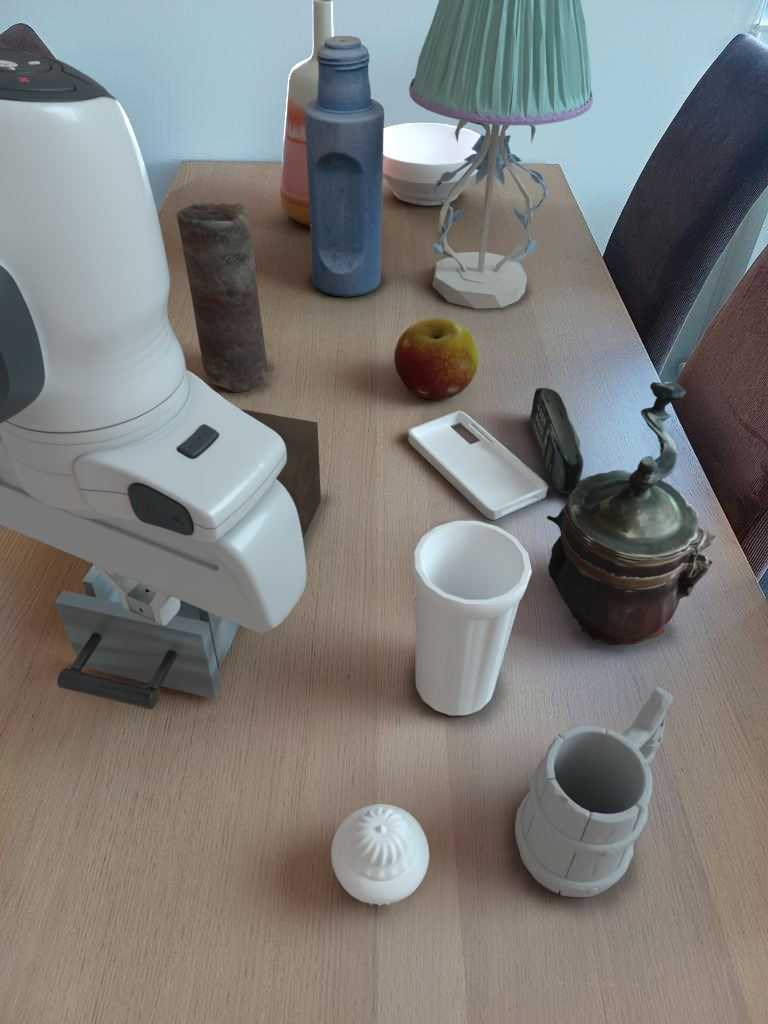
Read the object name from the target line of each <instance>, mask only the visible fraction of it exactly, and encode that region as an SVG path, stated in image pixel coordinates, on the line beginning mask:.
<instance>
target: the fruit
mask: <svg viewBox="0 0 768 1024" xmlns="http://www.w3.org/2000/svg"><path fill="white" fill-rule="evenodd" d="M393 362H394V367H395V371H396V374H397V376H398V378H399V380H400V381H401V383H402V384H403V385H404V387H405V388H406V389H407V390H408V391H409V392H410V393H412V394H413V395H416V396H418V397H420V398H423V399H428V400H437V401H439V400H445V399H449V398H451V397H454V396H456V395H459V394H461V393H462V392H463V391H464V390H465V389H466V388H468V387H469V385H470V383H471V382H472V381H473V380H474V378H475V376H476V372H477V370H478V367H479V366H478V365H479V351H478V347H477V344H476V342H475V339H474V337H473V335H472V334H471V333H470V332H469V331H468V329H467V328H465V326H463V325H462V324H460V323H458V322H457V321H454V320H451V319H446V318H428V319H424V320H423V319H422V320H420V321H417V322H415V323H413V324H411V325H409V327H408V328H406V329H405V330H404V331H403V332H402V333H401V335H400V337H399V338H398V340H397V343H396V345H395V349H394V361H393Z"/></svg>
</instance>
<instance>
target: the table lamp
mask: <svg viewBox="0 0 768 1024" xmlns="http://www.w3.org/2000/svg"><path fill="white" fill-rule="evenodd" d="M588 47H589V46H588V38H587V30H586V20H585V16H584V12H583V6H582V0H438V3H437V5H436V8H435V12H434V14H433V18H432V20H431V24H430V26H429V29H428V32H427V34H426V37H425V39H424V42H423V45H422V48H421V50H420V53H419V56H418V58H417V65H416V69H415V70H416V71H415V75H414V77H413V78H412V79H411V82H410V84H409V86H408V93H409V97H410V98H411V100H412V102H414V103H415V104H416V105H418V106H419V107H421V108H423V109H425V110H426V111H429V112H431V113H434V114H437V115H439V116H443V117H446V118H450V119H454V120H458V123H457V128H456V131H455V136H456V140H457V142H458V137H459V132H460V129H461V128H464V127H465V126H466V125H467V124H468V123H471V124H475V125H478V126H481V127H483V129H484V130H485V134H480V135H481V136H480V138H479V139H478V141H477V142H476V143H475V145H474V146H473V147H472V150H474V151H476V154H472V155H470V156H469V157H467V158H466V159H464V160H465V161H467V162H466V163H465V164H464V165H462V166H461V167H460V168H458V169H457V170H455V171H453V172H452V173H451V172H445V173H443V174H442V176H441V178H440V180H438V181H437V182H436V185H435V188H434V192H435V194H436V196H437V199H438V201H439V202H440V203H441V205H442V207H441V210H440V213H439V220H438V228H437V231H438V232H437V233H438V237H439V240H438V242H437V244H435V243H433V245H432V246H433V247H432V248H433V249H432V250H433V252H434V253H435V254H438V255H442V256H444V257H445V258H443V259H440V260H438V261H436V264H435V269H434V274H433V278H432V279H433V280H432V284H431V285H432V288H433V289H434V290H436V291H437V292H438V293H439V294H440V295H441V296H442V297H443V298H444V300H446V301H447V303H450V304H455V305H458V306H463V307H467V308H471V309H475V310H480V309H481V310H482V309H483V310H484V309H502V308H505V307H506V306H507V307H508V306H509V305H511V304H515V303H517V302H518V301H519V300H520V299H521V298H522V296H523V295H524V294H525V292H526V288H527V287H526V286H527V281H528V276H527V274H526V272H525V270H524V268H523V267H522V264H521V263H520V261H521V260H522V259H524V258H525V257H526V256H527V255H529V254H531V253H534V251H535V250H536V246H537V242H538V238H537V239H535V240H532V238H531V236H530V235H531V232H532V229H533V223H534V222H533V212H534V211H536V210H538V209H539V208H540V207H541V206H542V204H543V203H544V202H545V201H546V199H547V198H548V188H547V185H546V184H545V181H544V177H543V175H542V174H541V172H539V171H537V170H534V169H529V168H527V167H525V166H524V165H522V164H521V163H520V162H522V159H521V158H520V157H519V156H517V155H516V154H513V153H511V150H510V144H509V143H510V140H511V134H509V135H506V131H507V130H508V129H509V127H510V126H529V127H530V144H532V143H533V140H534V137H535V135H536V132H537V131H536V130H537V129H536V126H541V125H542V126H543V125H548V124H555V123H561V122H565V121H570V120H572V119H576V118H578V117H581V116H582V115H584V114H585V113H587V112H588V111H589V110H590V109H591V108H592V104H593V101H594V97H593V91H592V69H591V62H590V55H589V48H588ZM490 125H491V126H490ZM500 128H501V130H500ZM472 163H473V164H472ZM470 164H472V165H471V166H470V167H469V169H468V170H467V171H466V172H465V173H464V175H463V176H462V177H461V178H460V179H459V181H458V182H457V183H456V184H455V185H454V187H453V188H452V189H451V191H450V193H449V195H448V197H447V199H446V201H445V203H444V202H443V201H442V200H441V198H440V195H439V193H438V190H437V188H438V187H439V186H440V184H441V183H442V182H447V181H449V180H451V179H452V178H453V177H454V176H455V175H456V173H457V172H459V171H460V170H462V169H464V168H465V167H467V166H468V165H470ZM512 164H514V165H516V166H517V167H519V168H520V169H522V170H524V171H526V172H528V173H529V174H530V177H531V178H532V180H533V181H534V182H535V183H536V184H540V187H541V188H542V190H543V194H542V196H543V197H542V198H541V200H540V201H539V203H538V204H536V205H535V206H533V202H532V201H533V199H532V198H531V196H530V194H529V192H528V191H527V189H526V187H525V185H524V183H523V182H522V179H520V177H519V175H518V174H517V171H516V170H515V168H514V167H513V165H512ZM505 167H506V168H507V170H508V172H509V173H510V175H511V177H512V179H513V180H514V182H515V184H516V185H517V188H518V189H519V191H520V193H521V194H522V196H523V198H524V201H525V207H526V210H525V212H524V214H522V213H521V212H520V211H519V210H518V209H517V208H516V207H513V212H514V214H515V216H516V218H517V219H518V221H519V222H520V224H521V225H523V228H524V232H523V234H522V237H521V239H520V241H519V243H518V245H517V246H515V248H513V249H512V250H511V251H510V252H509V253H507V254H506V255H505V256H504V255H501V254H496V253H492V252H489V251H487V243H488V235H489V224H490V216H491V207H492V199H493V189H494V182H495V178H496V180H498V182H499V183H501V185H503V186H505V178H506V177H505V176H506V175H505V173H504V169H505ZM475 169H477V170H478V172H477V173H476V175H475V185H478V184H479V183H480V182H482V180H483V179H484V178H485V177H486V179H485V190H484V191H485V192H484V201H483V210H482V219H481V220H482V221H481V229H480V230H481V231H480V240H479V249H478V251H471V252H470V251H469V252H466V251H465V252H455V251H454V250H453V249H452V248H451V247H450V246H449V245H448V241H447V237H446V235H447V233H448V231H449V230H450V227H451V225H452V224H453V223H456V222H458V221H459V220H460V218H461V217H462V214H463V211H464V206H463V207H461V208H460V209H457V210H455V212H454V208H453V207H452V206H450V204H451V202H452V201H451V199H452V197H453V196H454V195H455V193H456V192H457V191H458V190H459V188H460V187H461V186H462V185H463V184H464V182H465V181H466V180H467V179H468V178H469V176H470V175H471V174H472V173H473V172H474V170H475ZM448 210H449V212H450V214H449V217H448V218H447V219H448V220H447V222H446V224H445V226H444V220H445V218H446V216H447V213H448ZM525 246H526V247H525ZM524 247H525V250H524V253H522V254H519V255H518V256H517V257H514V256H515V255H516V254H517V253H518V252H520V251H521V250H522V249H523V248H524ZM443 249H444V250H445V251H443ZM512 257H514V258H513V259H512Z"/></svg>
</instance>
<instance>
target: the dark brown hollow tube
mask: <svg viewBox="0 0 768 1024" xmlns="http://www.w3.org/2000/svg"><path fill="white" fill-rule="evenodd" d="M249 217H250V216H249V210H248V209H247V208H246V206H244V205H243V204H242V203H240V202H239V203H238V202H237V203H234V204H233V203H218V204H217V203H207V202H196V203H195V202H194V203H193V204H190V205H188V206H185V207H184V208H182V209H180V210H179V211H178V212H177V213H176V219H177V224H178V230H179V234H180V241H181V246H182V252H183V257H184V263H185V267H186V273H187V279H188V286H189V291H190V296H191V302H192V309H193V314H194V321H195V327H196V333H197V340H198V344H199V350H200V356H201V359H202V360H201V362H202V366H203V371H204V374H205V376H206V377H207V379H209V381H210V382H211V383H212V384H213V385H215V386H219V387H221V388H224V389H226V390H228V391H230V392H233V393H242V392H245V391H249V390H250V389H252V388H254V387H256V386H258V385H260V384H262V383H263V381H264V380H265V376H266V375H267V372H268V369H269V367H268V360H267V351H266V343H265V337H264V329H263V322H262V314H261V306H260V298H259V290H258V283H257V274H256V266H255V264H256V263H255V259H254V257H255V256H254V250H253V249H254V248H253V242H252V234H251V233H252V232H251V227H250V218H249Z"/></svg>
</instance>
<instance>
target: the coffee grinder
mask: <svg viewBox="0 0 768 1024" xmlns="http://www.w3.org/2000/svg"><path fill="white" fill-rule="evenodd" d="M649 386H650V388H649V389H650V390H651V392H652V394H653V396H654V397H655V400H654V403H653V406H651V407H646V408H643V409H641V410H640V415H641V417H642V418H643V420H644V421H645V423H646V425H647V427H648V428H649V429H650V430H651V431H652V432H653V433H654V434H655V435H656V438H657V440H658V443H659V448H660V449H659V453H660V454H659V456H658V457H657V458H655V459H654V457H653V456H652V455H647V456H645V457H643V458H642V459H640V461H639V463H638V465H637V468H636V470H634V471H632V472H630V471H627V470H624V469H619V470H617V469H616V470H611V471H608V472H598V473H595V474H593V475H589V476H586V477H584V478H582V479H580V481H579V482H578V483H577V485H576V488H575V490H573V491H572V493H571V495H569V497H568V498H567V501H566V503H565V505H564V506H563V507H562V509H561V510H560V511H559V513H558V515H557V516H552V515H547V516H546V520H548V521H550V522H553V523H554V524H555V525H557V527H558V529H559V532H560V536H558V537H557V539H556V541H555V542H554V544H553V545H552V548H551V549H550V551H551V552H550V558H549V563H548V565H547V568H548V576H549V578H550V579H551V580H552V582H553V584H554V586H555V587H556V590H557V592H558V594H559V596H560V597H561V599H562V601H563V602H564V603H565V605H566V606H567V609H568V610H569V611H570V613H571V616H572V618H574V619H575V621H576V622H577V625H578V626H580V628H581V632H583V633H586V634H587V635H588V636H589V637H590V638H591V639H592V640H593V641H599V642H601V643H606V644H611V645H626V644H629V643H631V644H639V643H640V642H642V641H644V640H646V639H650V638H651V637H654V636H657V635H662V634H663V633H665V629H664V626H665V625H667V624H668V623H669V622H670V621H671V620H672V618H673V617H674V615H675V612H676V611H677V609H678V607H679V602H680V600H681V599H683V598H687V597H690V596H691V595H692V594H693V593H694V591H695V588H696V587H695V586H696V585H697V584H698V582H699V581H701V579H702V578H703V577H704V576H706V574H707V572H708V571H709V570H710V568H711V567H712V565H713V560H711V559H710V558H709V557H707V556H706V555H704V554H701V553H702V552H703V551H704V550H705V549H707V548H709V547H710V546H712V544H714V543H715V542H716V540H717V535H716V534H714V533H711V532H709V531H708V530H705V529H702V528H700V526H699V525H700V524H699V523H700V521H699V513H698V511H697V510H696V508H695V507H694V506H693V505H692V504H691V503H690V502H689V501H688V500H687V498H686V497H685V496H684V493H681V492H680V491H678V490H677V489H676V488H675V487H674V486H673V485H671V484H669V483H668V482H666V481H664V479H666V478H667V477H669V476H671V474H672V473H673V472H674V471H675V470H676V467H677V464H678V460H679V454H678V452H677V448H676V447H677V446H676V443H675V441H674V439H673V437H672V436H671V435H670V434H669V432H668V430H667V429H666V427H665V423H664V422H665V421H667V420H668V419H670V418H671V415H672V414H669V413H668V412H667V411H666V406H667V405H669V404H671V403H672V402H675V401H680V400H681V399H683V398H684V397H685V395H686V394H687V391H686V389H685V388H684V386H682V385H681V384H679V383H677V382H674V381H663V382H658V381H657V382H656V381H653V382H651V383H650V385H649Z"/></svg>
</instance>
